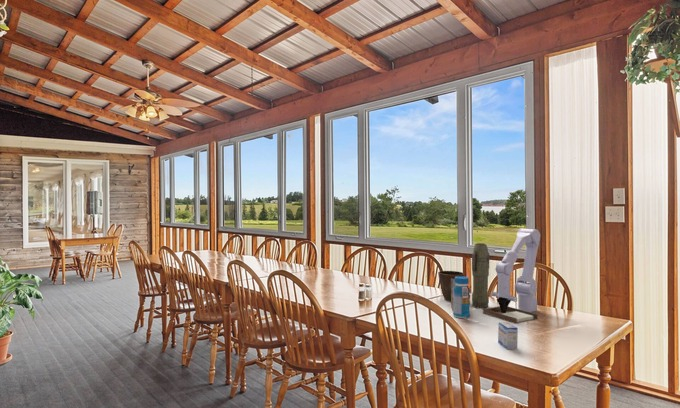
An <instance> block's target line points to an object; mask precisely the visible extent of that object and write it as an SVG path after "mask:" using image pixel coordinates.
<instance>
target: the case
mask: <svg viewBox="0 0 680 408" xmlns="http://www.w3.org/2000/svg"><path fill="white" fill-rule="evenodd" d="M514 311H517V312H521V313H524V314H528V315H532V316H533V319H531V320H526V321H521V322H517V318H513V317H510V316H507V315H503V313H501V309H500V306H494V307H493V306H492V307H488V308H484V309H483V308H482V314H484V315H488V316H490V317H494V318H497V319H499V320H503V321H505V322H508V323H513V324H520V323H525V322H530V321H531V322H532V321H534V320H538V319H539V318H538V317H539V315H538V314H537V313H533V312H527V311H523V310H519V309H518V308H514V307H511V306H508V308H507V311H506V313H509V312H514Z"/></svg>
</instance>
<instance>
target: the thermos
mask: <svg viewBox="0 0 680 408" xmlns="http://www.w3.org/2000/svg"><path fill="white" fill-rule="evenodd" d="M488 250H489V249H488V246H487V244H486V243H479V242H477V243H474V247H473V252H472V253H471V271H472V272H471V273H472V294H471V303H472V304H471V306H472V308H475V309H482V310H483V309H486V308H489V302H490V295H489V276H490V252H489V251H488Z"/></svg>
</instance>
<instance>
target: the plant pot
mask: <svg viewBox="0 0 680 408" xmlns="http://www.w3.org/2000/svg"><path fill="white" fill-rule="evenodd" d="M456 276H465V273H464V272H461V271H455V270H440V271H438V281H439V285H440V289H441V290H440V291H441V293H442V296H443V299H444V300H445V301H450V302H451V279H455V277H456Z"/></svg>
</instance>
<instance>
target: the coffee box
mask: <svg viewBox="0 0 680 408" xmlns="http://www.w3.org/2000/svg"><path fill="white" fill-rule="evenodd" d="M455 285H456V284H455V279H451V301H450V303H451V304H450V307H451V311H452V312H453V293H454V291H453V289H454V287H455Z"/></svg>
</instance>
